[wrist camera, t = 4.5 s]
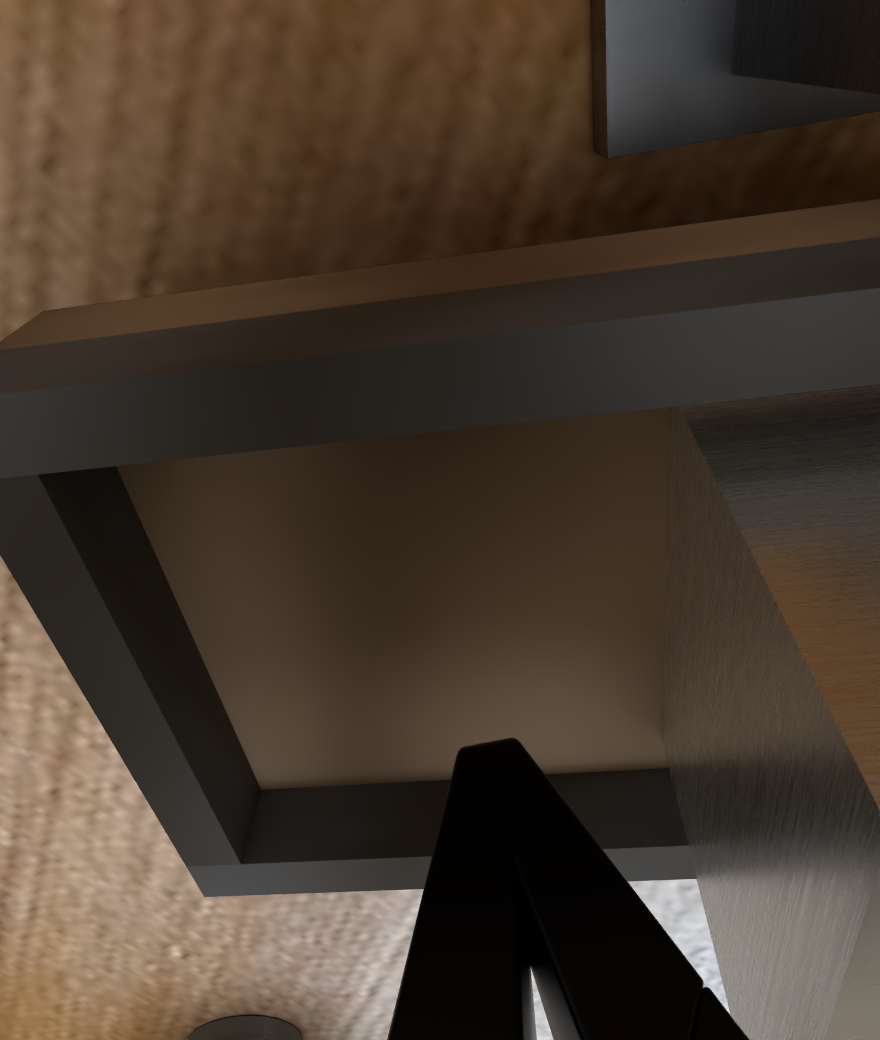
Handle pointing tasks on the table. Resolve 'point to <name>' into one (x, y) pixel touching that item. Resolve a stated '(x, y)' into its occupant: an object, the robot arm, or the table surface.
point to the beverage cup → (246, 1029)
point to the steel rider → (780, 699)
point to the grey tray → (399, 525)
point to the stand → (727, 68)
